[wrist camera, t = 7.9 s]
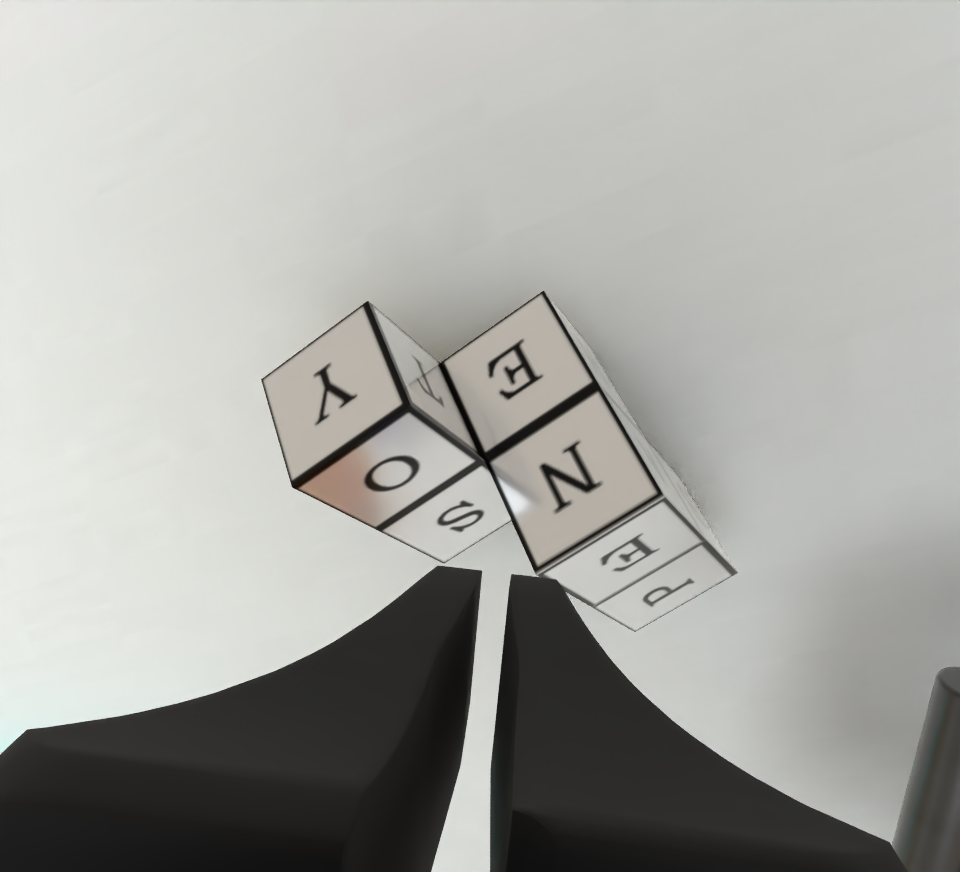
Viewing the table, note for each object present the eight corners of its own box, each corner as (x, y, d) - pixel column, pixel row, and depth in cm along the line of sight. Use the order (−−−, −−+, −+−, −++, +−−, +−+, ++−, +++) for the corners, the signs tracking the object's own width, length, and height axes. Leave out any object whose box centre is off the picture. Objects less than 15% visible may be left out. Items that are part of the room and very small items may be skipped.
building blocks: (630, 396, 22) (482, 215, 16) (737, 572, 19) (609, 438, 13) (461, 505, 23) (261, 379, 17) (537, 687, 20) (329, 618, 14)
